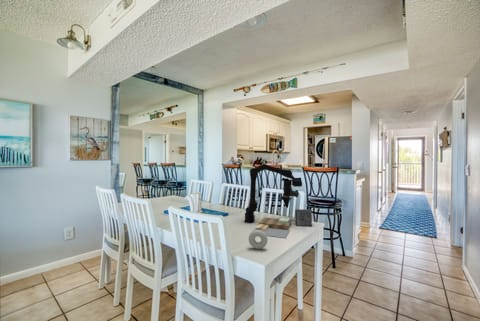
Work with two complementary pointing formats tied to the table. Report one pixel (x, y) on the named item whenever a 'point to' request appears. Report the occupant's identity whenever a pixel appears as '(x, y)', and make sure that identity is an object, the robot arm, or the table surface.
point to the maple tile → (262, 227)
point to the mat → (276, 232)
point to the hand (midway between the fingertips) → (287, 207)
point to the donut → (260, 234)
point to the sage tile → (284, 220)
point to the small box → (303, 217)
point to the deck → (275, 223)
